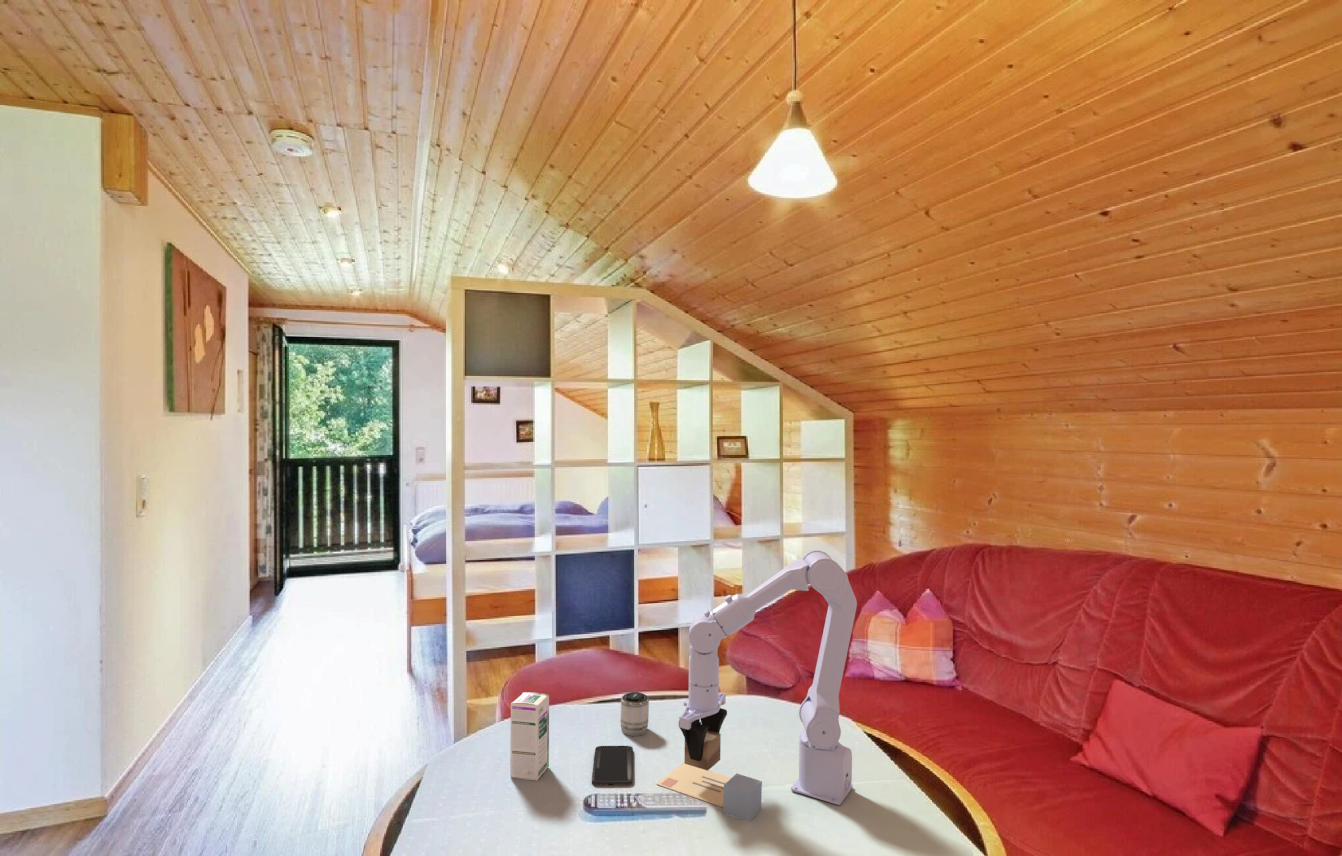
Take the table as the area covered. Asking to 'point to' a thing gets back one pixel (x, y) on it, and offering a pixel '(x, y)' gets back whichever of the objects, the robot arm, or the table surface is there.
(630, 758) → the phone
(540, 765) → the syrup box
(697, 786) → the envelope
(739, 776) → the cube
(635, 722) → the camera lens
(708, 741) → the walnut block
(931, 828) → the table surface
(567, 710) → the table surface
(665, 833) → the table surface
